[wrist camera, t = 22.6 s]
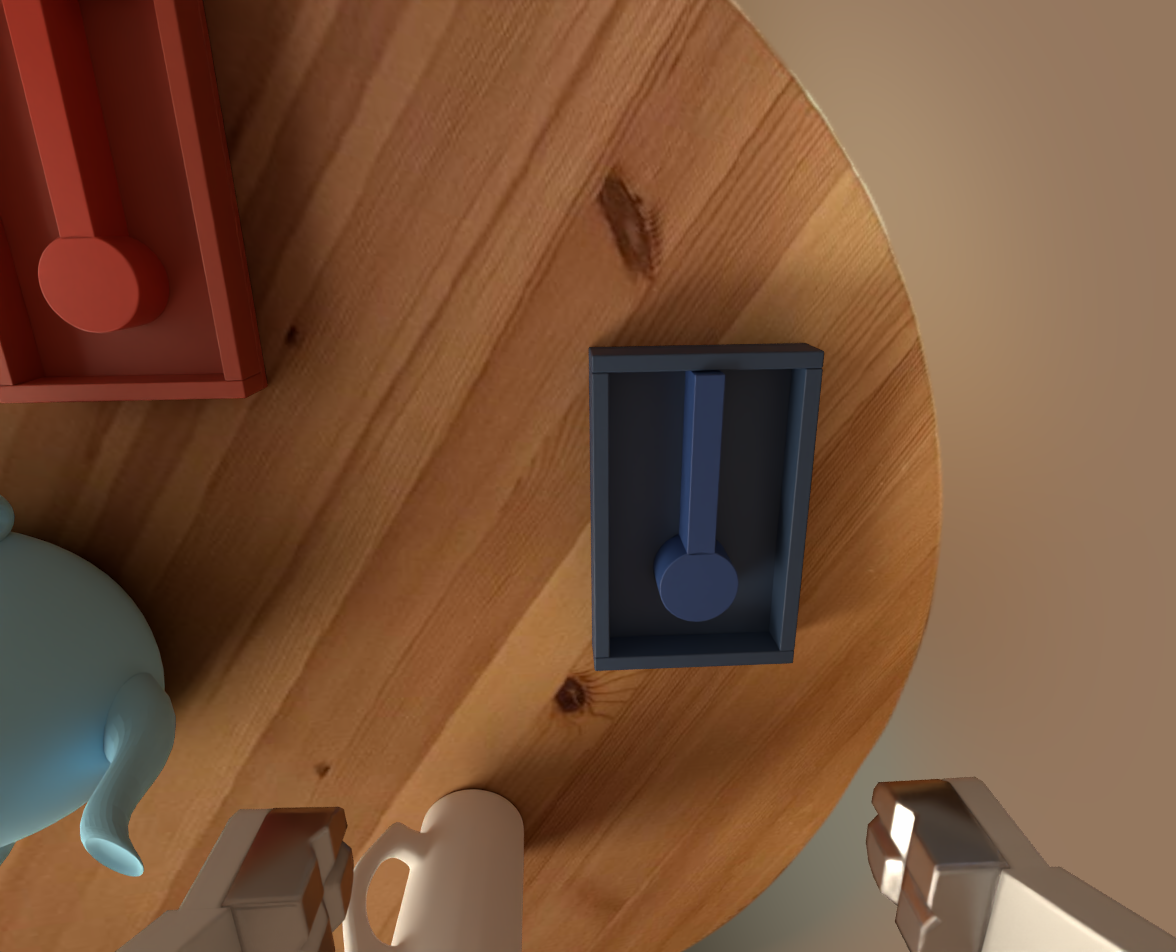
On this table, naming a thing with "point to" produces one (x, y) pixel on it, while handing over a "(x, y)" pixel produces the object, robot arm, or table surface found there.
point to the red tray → (133, 222)
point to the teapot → (75, 699)
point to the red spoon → (80, 178)
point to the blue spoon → (698, 511)
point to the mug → (449, 879)
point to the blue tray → (745, 501)
